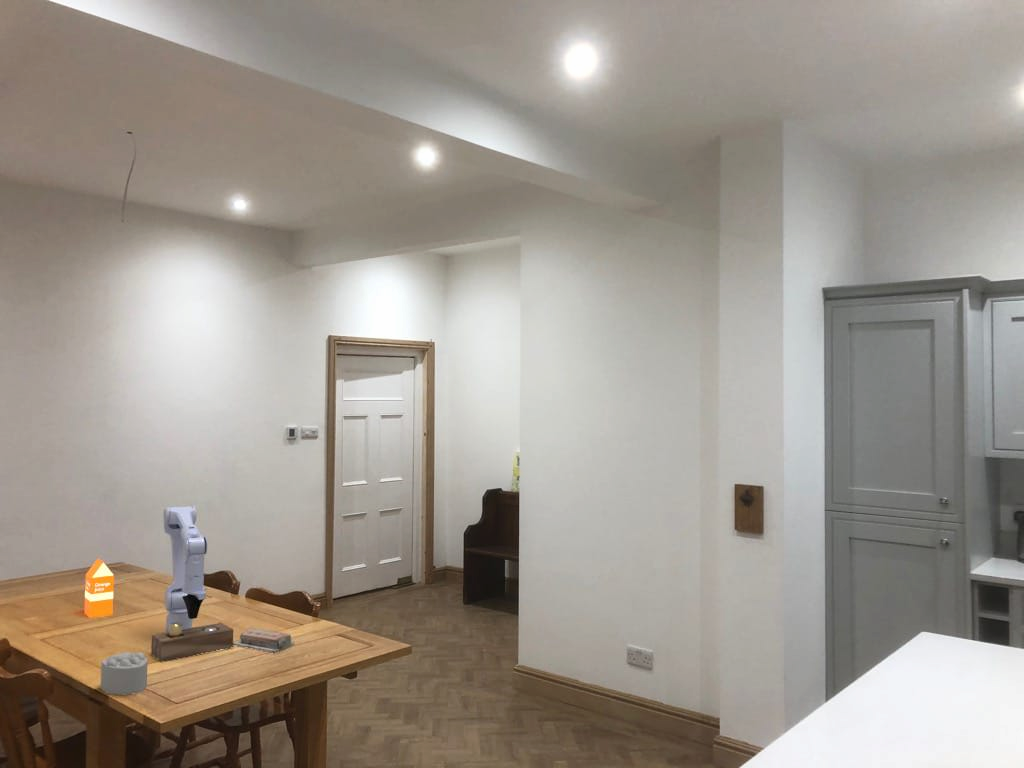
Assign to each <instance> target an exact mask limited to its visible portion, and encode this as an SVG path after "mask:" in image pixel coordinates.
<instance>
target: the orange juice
mask: <svg viewBox="0 0 1024 768" xmlns="http://www.w3.org/2000/svg"><path fill="white" fill-rule="evenodd" d="M114 582H115V575H114V573H113V572H112V571H111V570H110V568H109V567H108V566H107V565H106V564H105V562H104V561H103V560H101V559H100V558H97V559H96V560H95V562H94V563H93V565H92V566H91V567H90V568H89V570H88V571H87V572H86V573H85V585H84V586H85V589H84V614H85V615H86V616H87V617H88V618H90V619H92V618H100V617H107V616H113V612H114V611H113V606H114V585H115V584H114Z"/></svg>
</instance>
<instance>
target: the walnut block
mask: <svg viewBox="0 0 1024 768" xmlns="http://www.w3.org/2000/svg"><path fill="white" fill-rule="evenodd" d="M211 627H214V628H216V630H214V631H208V632H205V629H206V628H211ZM233 643H234V629H233V628H232V627H230V626H228V625H226V624H224V623H223V622H218V623H213V624H206V625H201V626H195V627H192V628H188V629H182V636H180V637H174V638H169V632H166V631H165V632H161V633H154V634H151V647H150V648H151V650H150V654H151V656H153V655H154V656H155V658H156V659H157V658H158V659H159V660H158V659H157V660H158V661H160V662H161V661H165V662H168V661H167V660H170V661H173V660H172V659H175V660H178V659H177V658H180V659H184V658H183V657H185V658H189V656H190V657H194V656H193V655H195V656H198V655H197V654H200V655H202V654H201V653H206V652H211V651H216V650H220V649H226V648H231V647H233V648H234V646H233ZM231 649H232V648H231ZM226 650H227V649H226ZM216 652H217V651H216ZM211 653H212V652H211ZM206 654H207V653H206Z"/></svg>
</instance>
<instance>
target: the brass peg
mask: <svg viewBox="0 0 1024 768" xmlns="http://www.w3.org/2000/svg"><path fill="white" fill-rule="evenodd" d="M180 636H182V623H180V622H175V623H171V624H170V627H169V638H174V637H180Z"/></svg>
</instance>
